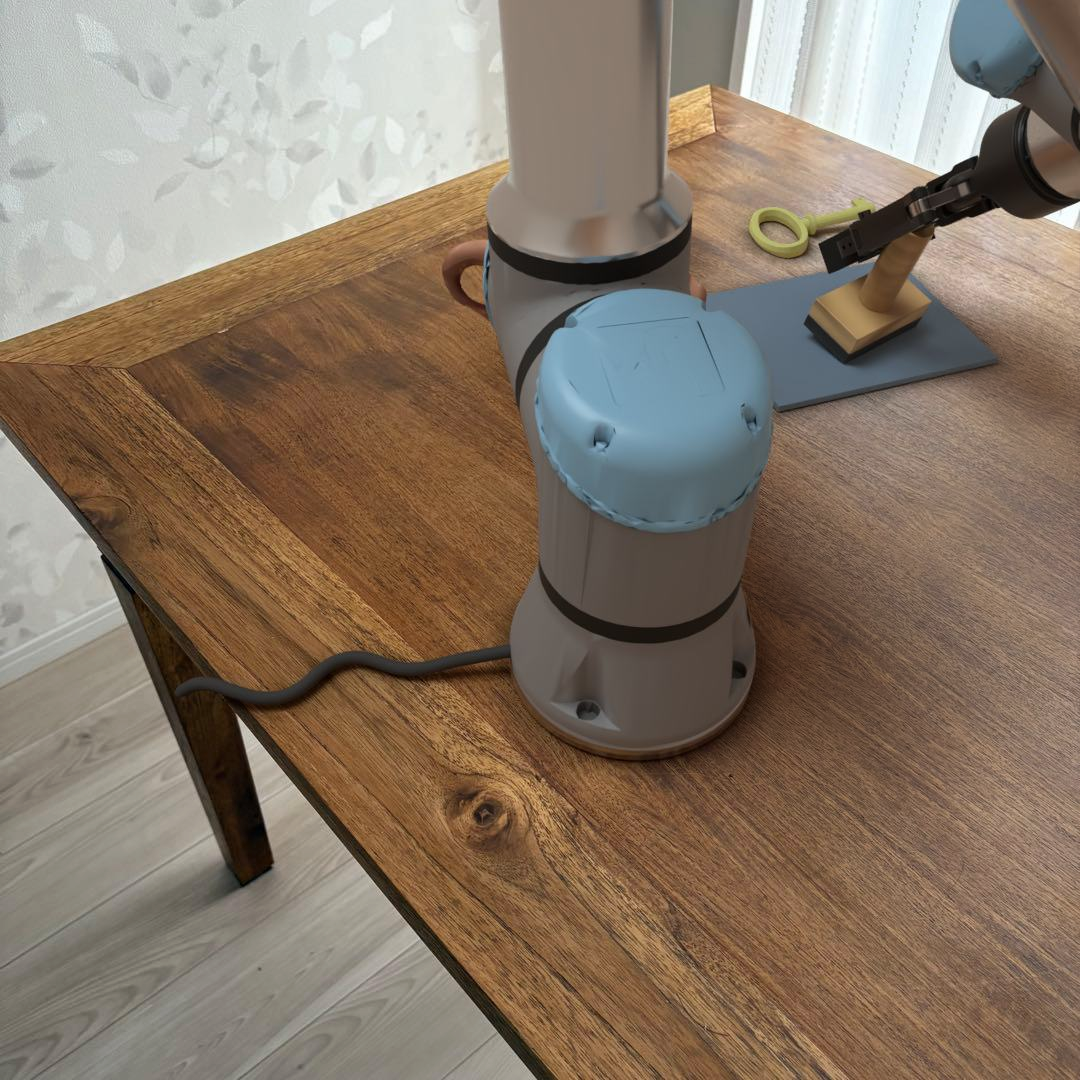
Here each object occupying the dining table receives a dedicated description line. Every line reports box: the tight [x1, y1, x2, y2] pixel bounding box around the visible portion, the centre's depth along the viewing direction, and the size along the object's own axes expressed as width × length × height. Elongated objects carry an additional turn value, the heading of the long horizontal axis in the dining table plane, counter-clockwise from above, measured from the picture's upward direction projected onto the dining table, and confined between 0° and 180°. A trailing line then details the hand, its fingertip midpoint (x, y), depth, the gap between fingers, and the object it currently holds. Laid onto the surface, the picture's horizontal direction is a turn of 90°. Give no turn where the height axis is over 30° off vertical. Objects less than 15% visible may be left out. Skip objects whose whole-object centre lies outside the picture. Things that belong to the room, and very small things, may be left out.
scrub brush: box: [804, 225, 936, 364], centre depth 88 cm, size 9×5×11 cm, turn 127°
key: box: [748, 196, 877, 259], centre depth 105 cm, size 7×12×2 cm, turn 124°
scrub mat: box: [706, 261, 999, 413], centre depth 94 cm, size 20×16×1 cm
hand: (841, 252), depth 94 cm, fingers open, 3 cm apart
